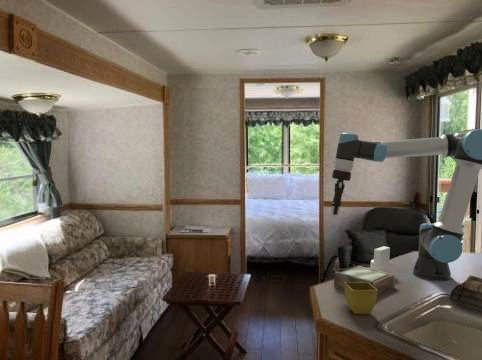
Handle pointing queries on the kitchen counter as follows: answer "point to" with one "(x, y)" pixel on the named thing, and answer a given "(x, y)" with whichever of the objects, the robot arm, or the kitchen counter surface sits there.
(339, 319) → the kitchen counter surface
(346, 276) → the dock
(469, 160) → the robot arm
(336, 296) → the kitchen counter surface
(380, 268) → the cylinder with rectangular tab
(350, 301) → the flower pot
